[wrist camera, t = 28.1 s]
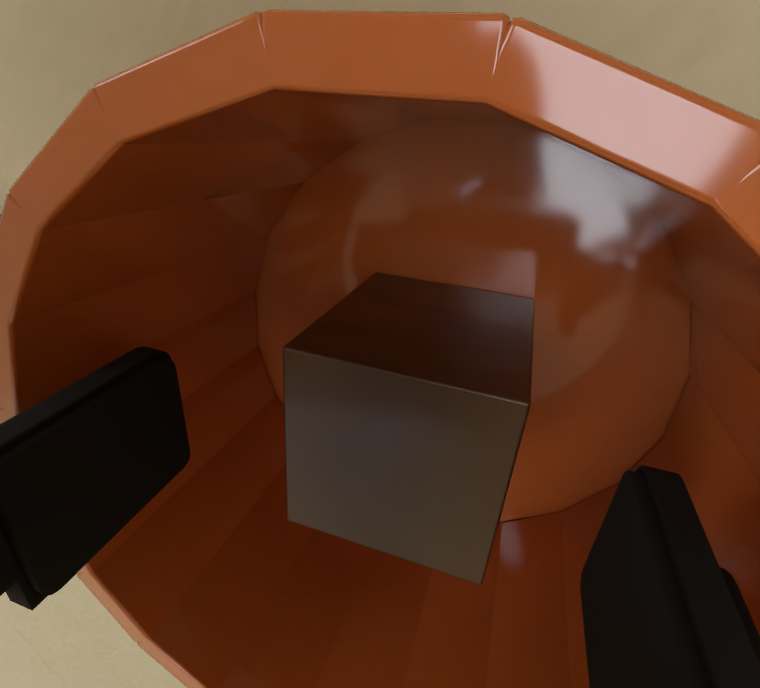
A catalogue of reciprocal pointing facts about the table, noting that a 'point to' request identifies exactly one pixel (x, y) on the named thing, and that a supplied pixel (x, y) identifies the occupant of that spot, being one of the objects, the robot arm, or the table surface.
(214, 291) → the pan
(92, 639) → the table surface
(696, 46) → the table surface
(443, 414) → the metal block
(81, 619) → the table surface
